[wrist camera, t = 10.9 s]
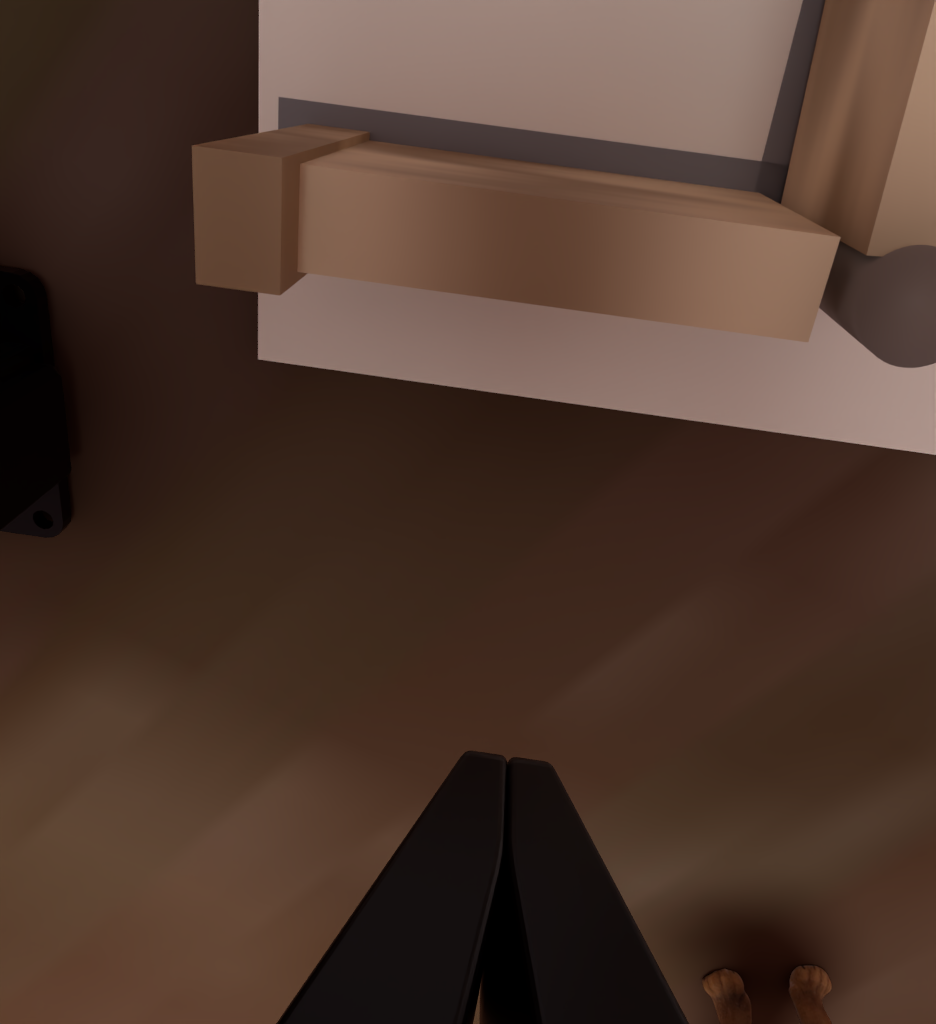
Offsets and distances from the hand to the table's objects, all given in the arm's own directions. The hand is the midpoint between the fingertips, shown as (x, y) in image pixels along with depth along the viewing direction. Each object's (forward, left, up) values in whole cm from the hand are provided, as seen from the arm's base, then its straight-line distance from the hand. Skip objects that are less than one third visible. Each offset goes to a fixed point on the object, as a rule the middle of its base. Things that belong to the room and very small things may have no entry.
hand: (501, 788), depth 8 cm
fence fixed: (-1, +4, -12) cm, 13 cm away
